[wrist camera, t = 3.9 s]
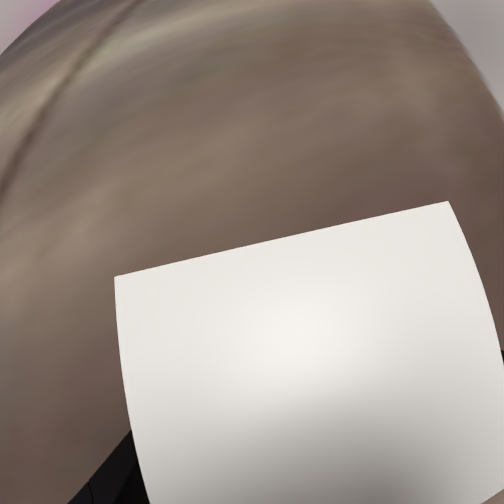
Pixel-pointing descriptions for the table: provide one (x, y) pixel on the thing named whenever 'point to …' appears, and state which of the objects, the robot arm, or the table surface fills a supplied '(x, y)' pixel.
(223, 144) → the table surface
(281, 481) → the white rectangular block
